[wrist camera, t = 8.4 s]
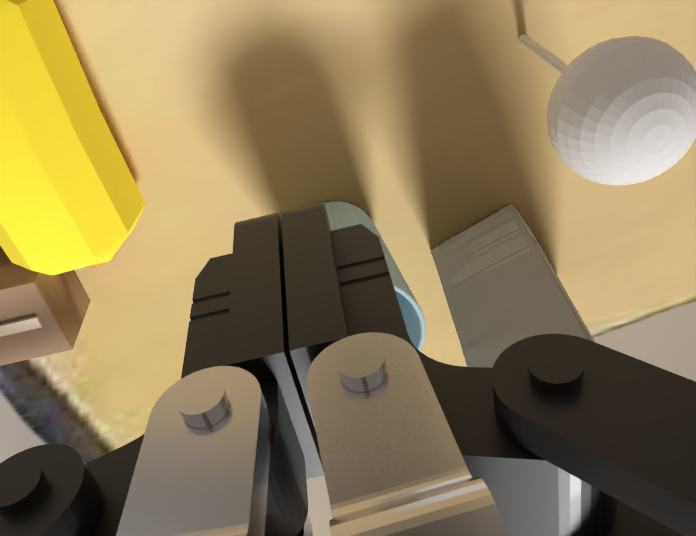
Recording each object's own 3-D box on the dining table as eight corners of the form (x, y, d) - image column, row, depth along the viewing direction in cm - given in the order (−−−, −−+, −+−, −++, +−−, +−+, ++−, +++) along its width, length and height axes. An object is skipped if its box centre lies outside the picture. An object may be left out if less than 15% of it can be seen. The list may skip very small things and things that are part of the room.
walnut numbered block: (-22, 254, 40) (-56, 304, 36) (57, 236, 40) (32, 284, 36) (16, 316, 43) (-11, 370, 39) (90, 299, 43) (71, 351, 39)
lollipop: (595, 38, 37) (764, 139, 25) (513, 111, 39) (632, 239, 27) (533, -46, 34) (690, 19, 22) (448, 37, 36) (548, 141, 24)
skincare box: (559, 280, 46) (677, 454, 33) (471, 329, 48) (551, 514, 35) (510, 194, 42) (624, 355, 29) (415, 250, 44) (483, 428, 31)
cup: (370, 296, 45) (397, 403, 37) (262, 275, 43) (262, 383, 35) (408, 201, 42) (447, 295, 33) (291, 173, 40) (299, 265, 31)
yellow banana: (27, -82, 31) (-126, -41, 31) (-23, -65, 26) (-209, -16, 26) (167, 233, 41) (50, 262, 41) (153, 294, 36) (17, 328, 36)
